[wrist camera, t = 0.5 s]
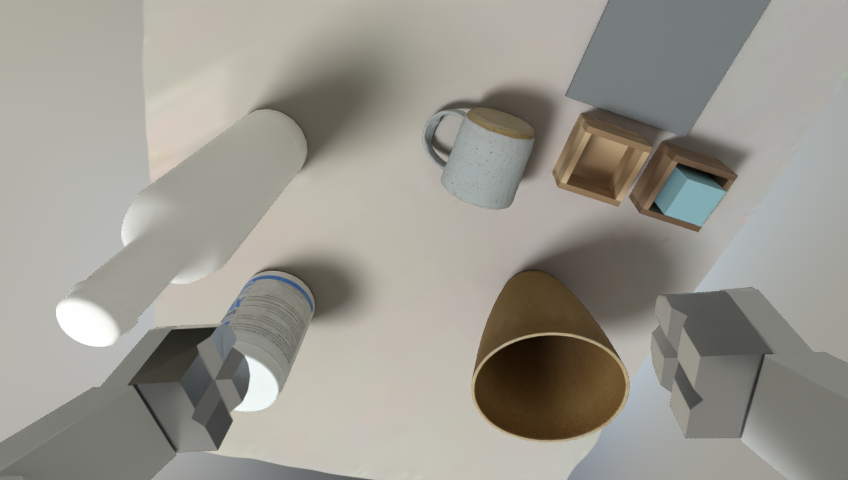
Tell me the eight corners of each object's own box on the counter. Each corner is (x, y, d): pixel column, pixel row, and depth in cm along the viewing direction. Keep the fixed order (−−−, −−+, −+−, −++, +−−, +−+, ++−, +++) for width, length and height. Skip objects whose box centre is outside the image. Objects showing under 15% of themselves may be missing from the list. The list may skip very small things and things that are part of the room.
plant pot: (608, 251, 56) (653, 347, 42) (573, 345, 64) (602, 452, 50) (481, 233, 56) (486, 323, 42) (461, 329, 64) (460, 432, 50)
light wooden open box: (579, 113, 48) (588, 126, 45) (639, 133, 49) (653, 147, 45) (551, 171, 52) (557, 187, 48) (608, 189, 52) (618, 206, 49)
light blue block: (666, 157, 50) (687, 179, 45) (701, 169, 50) (726, 191, 45) (646, 190, 52) (664, 214, 47) (680, 201, 52) (701, 226, 47)
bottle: (282, 95, 50) (82, 245, 24) (322, 160, 53) (185, 354, 27) (222, 126, 52) (-20, 295, 26) (264, 187, 55) (87, 390, 29)
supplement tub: (245, 261, 61) (187, 341, 48) (319, 275, 61) (280, 358, 48) (246, 319, 66) (194, 405, 53) (315, 331, 66) (279, 420, 53)
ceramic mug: (535, 117, 49) (545, 141, 42) (508, 187, 53) (513, 220, 46) (435, 88, 48) (428, 108, 42) (415, 161, 52) (407, 190, 46)
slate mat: (632, -52, 41) (634, -52, 40) (768, -1, 42) (771, -1, 42) (565, 95, 47) (565, 96, 47) (684, 136, 48) (685, 137, 48)
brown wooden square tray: (660, 140, 49) (675, 155, 46) (718, 160, 50) (738, 175, 46) (627, 195, 53) (639, 213, 49) (682, 213, 53) (698, 232, 50)
